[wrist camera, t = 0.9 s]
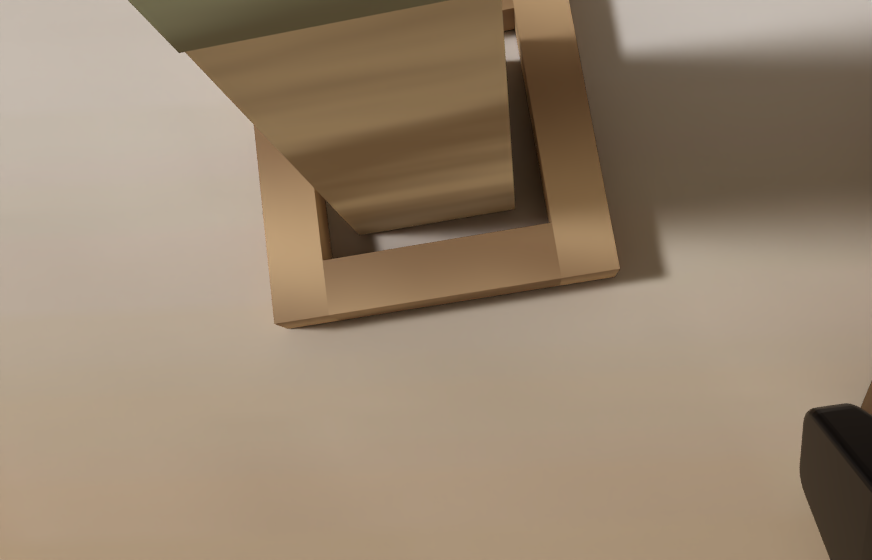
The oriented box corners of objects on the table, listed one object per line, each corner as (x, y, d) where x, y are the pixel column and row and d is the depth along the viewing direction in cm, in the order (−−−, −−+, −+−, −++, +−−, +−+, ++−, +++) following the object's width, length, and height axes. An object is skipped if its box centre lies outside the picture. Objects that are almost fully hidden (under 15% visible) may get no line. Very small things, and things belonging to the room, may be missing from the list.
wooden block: (517, 210, 22) (493, -222, 7) (357, 237, 22) (16, -117, 7) (492, 59, 22) (424, -608, 8) (339, 88, 23) (0, -493, 8)
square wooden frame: (615, 277, 21) (619, 268, 20) (288, 328, 22) (274, 323, 21) (557, -28, 23) (559, -51, 21) (256, 31, 23) (242, 11, 22)
